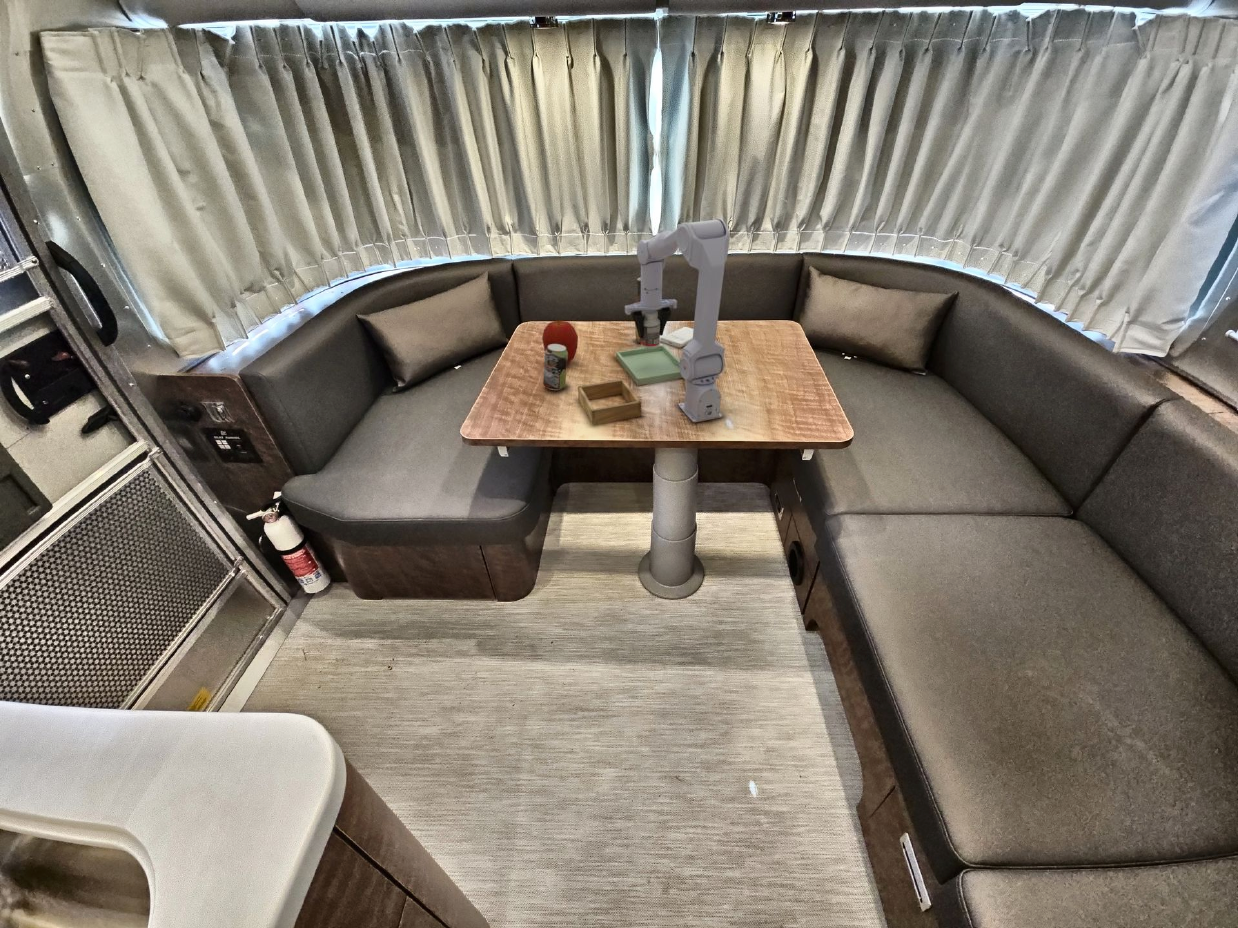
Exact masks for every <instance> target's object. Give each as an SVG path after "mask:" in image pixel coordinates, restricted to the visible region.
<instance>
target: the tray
mask: <svg viewBox="0 0 1238 928" xmlns="http://www.w3.org/2000/svg"><path fill="white" fill-rule="evenodd" d="M615 359H616V361H618V363H620V365H621V366H622V368H623V369H624V370H625V372H627V375H629V377H630V378H631V379H632V380H633V382H634V383H635V384H636V385H637V386H642V385H649V384H655V383H661V382H667V381H672V380H679V379H684V378H683V377H682V375H681V373H680V370H679V362H680V359H679V358H678V357H677V356H676V355H675V354H674V352H672V351H671V350H670V349H669V348H668V347H667V346H666V345H665V344H660V345H659V346H658V347H656V348H652V349H648V348H644V347H638V348H633V349H627V350H620V351H615Z"/></svg>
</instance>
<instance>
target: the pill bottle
mask: <svg viewBox="0 0 1238 928" xmlns="http://www.w3.org/2000/svg"><path fill="white" fill-rule="evenodd" d="M643 316H644V317H645V319H644V325H643V338H642V339H641V343H640V346H641V348H648V349H652V348H656V347H658V346H659V345H661V336H660V320H659V319H658V312H657V310H652V311H645V312H643Z"/></svg>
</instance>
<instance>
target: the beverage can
mask: <svg viewBox="0 0 1238 928" xmlns="http://www.w3.org/2000/svg"><path fill="white" fill-rule="evenodd" d="M567 359H568V352H567V350H566V347H565V346H563V345H560V344H550V345H548V348H547V349H546V350H544V364H543V378H542V379H543V381H542V384H543V386H544V387H546V389H548V390H551V391H559V390H562V389H563V388H565V387H566V382H567V381H566V380H567V369H568V364H567Z"/></svg>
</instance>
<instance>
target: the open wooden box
mask: <svg viewBox="0 0 1238 928" xmlns="http://www.w3.org/2000/svg"><path fill="white" fill-rule="evenodd" d="M577 395H578V401H579V403H580V406H581V407H582V408H583V410H584V412H585V414H586V416H587V418H588V419H589V421H590V423H591V425H592V426H596V425H601V424H606V423H611V422H617V421H623V420H627V419H634V418H638V417H642V401H641V400H640V399H639V398H638V396H637V395H636V393H635V392H634V391H633V390H632V388H631V387H630V385H629V384H628V383H627V381H626V380H625V379H624V378H621V379H617V380H616V379H614V380H609V381H602V382H598V383H591V384H586V385H580V386H577ZM619 395H622V396H623V398H624V399H625V401H626V403H621V404H620V403H619V404H614V405H608V406H603V407H598V408H595V407H594V406H593V405H592V403H591V401H590V400H595V399H601V398H607V397H612V396H619Z"/></svg>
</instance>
